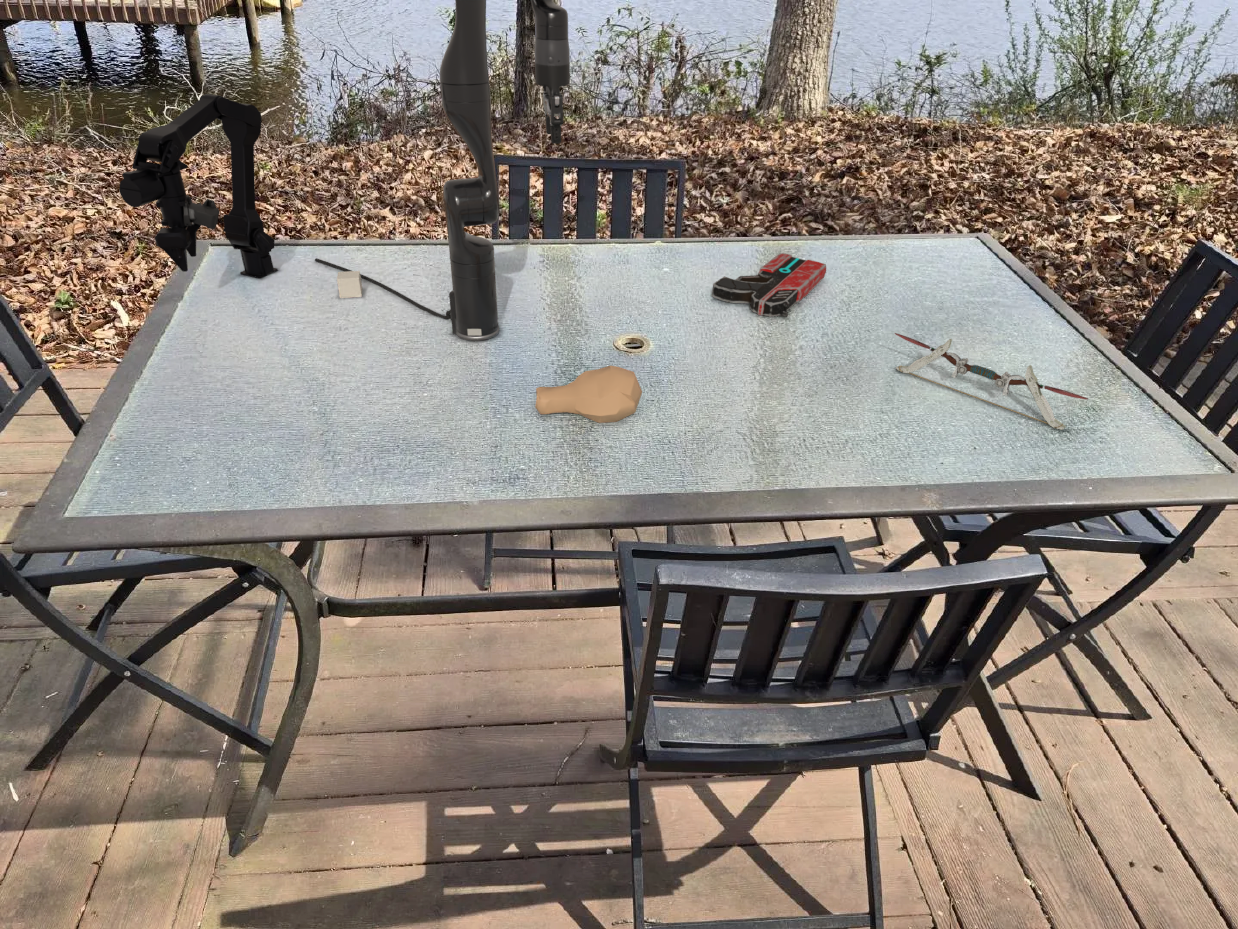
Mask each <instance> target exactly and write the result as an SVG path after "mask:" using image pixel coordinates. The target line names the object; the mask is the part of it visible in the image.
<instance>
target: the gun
mask: <svg viewBox="0 0 1238 929" xmlns="http://www.w3.org/2000/svg"><path fill="white" fill-rule="evenodd" d="M826 273H827V264H826V263H823V262H820V261H816V260H812V259H802V258H799V257H795V256H793V255H792V254H791V253H784V252H780V253H778V254H777V255H775V256H774V257H773V258H771V259H770V260H768V261H767V262H766V263H765V264H763V265H762V266H761V267H760V269H759V271H758V273H757V274H756V275H753V274H752V275H751V274H750V275H740V276H738V277H737V278H735V279H734V278H731V277H727V276H722V277H720V279H717V281H715V282H713V283H712V291H711V297H713V298H714V299H716V300H719V301H723V302H727V303H730V304H750V305H749V308H750V310H751V312H753V313H755V314H757V315H758V316H760V317H761V316H765V317H770V318H771V317H777V316H780V317H784V318H787V317H788V315H789V311H788V310H790V309H791V308H792V307H793V306H794V305H795V304H798V303H799V302H801V301H802V300H803V299H804V298H805V297H807V296H808V295H809V294H810V293H811V292H812V291H813V290H814V289H815V287H817V285H818V284H820V283H821V282H822V280H823V279H824V278H825V276H826Z"/></svg>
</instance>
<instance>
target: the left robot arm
mask: <svg viewBox="0 0 1238 929" xmlns="http://www.w3.org/2000/svg"><path fill="white" fill-rule="evenodd" d="M261 113H262V112H261V111H260V110H259V109H258V108H257V106H255V105H253V104H249V103H241V102H237V101H234V100H231V99H229V98H226V97H225V96H223V95H218V94H211V93H204V94H202V95H201V96H200V97H199V99H198V100H197V101H196V102H194V103H193V104H192V105H190V106H189V107H188V108H187V109H186V110H184V111H183V112H182V113H180V114H179V115H178V116H176V117H175V118H174V119H172V120H170V122H169V123H166V124H164V125H160V126H159V125H158V126H156V127H152V128H150V129H148V130H145V131H144V132H142V133H141V134H140V135H139V136H138V138H137V140H138V143H137V147H136V150H135V154H134V159H133V163H132V166H131V167H132V169H133V170H131V171H125V172H122V178H123V179H122V180H121V181H120V182H119V188H118V192H119V194H120V196H121V198H122V200H123V201H124V202H125V203H126V204H127V205H128V206H130V207H132V208H139V207H143V206H145V205H148V204H151V203H153V202H155V206H156V208H160V212H161V216H162V219H161V221H160V222H161V226H162V227H161V228H160V229H159V230H158V232H157V233H156V234H155V236H154V241H155V246H156V247H158V248H159V249H160V250H162V251H164V253H165V254H167V256H168V257H169V258H170V259H171V260H172V261H173V263H174V264H175V265H176V266H177V267H178V269H179V270H180V271H181V272H188V271H189V265H188V254H189V256H190V257H192V258H194V257H196V256H197V234H198V233H197V231H198V230H199V229H200V228H201V227H202V226H203V227H206V228H207V229H209V230H210V229H211V230H214V229H216V227H217V225H218V223H219V216H220V210H219V209H220V208H219V207H217V205H216V203H215V200H214V199H209V198H206V199H205V201H204V202H203V203H201V202H198V203H196V202H193V200H192V199H193V198H192V197H191V196H190V194H187V192H186V188H185V184H184V180H183V176H182V170H186V169H188V167H189V166H188V164H186V163H185V162H183V161H182V160H180V159H181V157H182V156H183V155H184V154H185V152H186V151H187V144H189V142H190V141H191V140H192V139H193V138H194V137H195V136H197V135H199V133H201V132H202V131H204V130H205V128H207V127H209V126H210V125H211V124H212V123H213V122H214V121H215V120H219V121H221V127H222V131H223V133H224V135H225V136H226V138H227V140H228V141H229V143H230V165H231V193H232V194H231V197H232V208H231V209H230V211H229V212H228V214H227V213H225V214H223V230H222V232H223V233H224V234H225V238H226V240H228V242H229V243H230V244H231V247H232V248H233V249H234V250H239V251H240V255H241V259H242V264H243V268H244V270H242V271H240V272H239V273H240V275H241V276H246V277H250V278H254V279H258V280H259V279H260V280H261V279H263V278H265V277H267V276H270V275H272V274H273V273H276V272H278V271H279V269H278V268H277V267H274V264H273V259H272V255H271V252H272V250H274V249H275V244H276V243H275V241H276V240H275V239H274V238H273V237H272V236H271V235H269V234H268V233H266V232H265V229H264V223H263V220H262V218H261V216H260V215H259V212H258V210H257V208H256V184H255V182H256V180H255V178H256V177H255V144H256V142H257V141H258V139H259V137H260V136H261V134H262V133H261V131H262V121H263V119H262V114H261ZM187 253H188V254H187Z"/></svg>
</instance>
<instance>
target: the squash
mask: <svg viewBox="0 0 1238 929" xmlns="http://www.w3.org/2000/svg"><path fill="white" fill-rule="evenodd" d="M642 393H643V390H642V387H641V386H640V383H639V380H638V378H637V376H636V373H635V372H634V371H632V370H629V369H627V368H623V367H621V366H615V365H611V364H610V365H607V366H603V367H601V368H596V369H591V370H585V371H584V372H582V373H580V374H579V375H578V376H577V377H576V378H575V379H574V380H572V381H571V382H569V383H568V384H566V385H556V386H538V387H536V388H535V396H536V400H535V405H534V408H535V410H537V412H538V414H540V415H549V414H557V413H558V414H559V413H561V414H562V413H570V414H575V415H576V414H577V415H580V416H582V417H584V418H586V419H588V420H590V421H593V422H596V423H598V424H602V423H617V422H620V421H622V420H624V419H625V418H627V417H629V416H631V415H633V414H635V413H636V412H637V409H638V406H639V403H640V399H641V397H642Z"/></svg>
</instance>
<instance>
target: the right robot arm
mask: <svg viewBox="0 0 1238 929" xmlns="http://www.w3.org/2000/svg"><path fill="white" fill-rule="evenodd" d="M454 2H455V4H454V5H455V21H454V27H453V31H452V34H451V37H450V40H449V42H448V45H447V47H446V49H445V51H444V55H443V57H442V60H441V64H440V68H439V85H440V96H441V107H442V110H443V112H444V114H445V117H446V118H447V120H448V121H449V123H450V124H451V126H452V127H453V128H454V130H455V132H456V133H457V134H458V136H459V137H460V138H461V139H462V140H463V143H464V144H465V145H466V147H467V149H468V150H469V152H470V154H471V156H472V157H473V160H474V162H475V165H476V168H477V174H478V176H477V177H469V178H458V179H448V180H446V181H445V182H444V184H443V187H442V202H443V210H444V216H445V217H444V218H445V222H446V223H445V224H446V231H447V240H448V241H447V242H448V250H449V263H450V264H449V265H450V275H451V276H450V277H451V286H452V290H451V291H450V292H448V297H449V310H447V311H445V315H443V314H440V313H438V312H437V311H434V310H432V309H430V308H428V307H426V306H424V305H422V304H420V303H418V302H416V301H415V300H413V299H411V298H410V297H408V296H406V295H404V294H402V293H401V292H398V291H397V290H395V289H393V288H391V287H389V286H387V285H385V284H384V283H381V282H379V281H377V280H375V279H373V278H370V277H369V276H366V275H364V274H362V273H360V276H361V280H362V279H363V280H364V281H367V282H369V283H371V284H374V285H376V286H378V287H380V288H382V289H384V290H385V291H387V292H390V293H392V294H393V295H395V296H397V297H398V298H400V299H402V300H404V301H406V302H408V303H409V304H411V305H412V306H414V307H416V308H418V309H420V310H422V311H424V312H426V313H428V314H430V315H432V316H434V317H438V318H440V319H443V320H450V322H451V332H452V334H453V335H456V336H457V337H458V338H460V339H462V340H464V341H470V342H479V341H481V342H482V341H486V340H487V341H488V340H491V339H493V338H494V337H495V338H496V337H497V335H499V333H500V325H499V312H498V311H499V310H498V296H497V295H498V294H497V293H498V292H497V276H496V275H497V274H496V261H495V259H496V258H495V248H494V244H493V242H492V241H491V240H490V239H488V238H485V237H483V236H482V237H481V236H477V235H473V234H471V233H469V232H467V231H466V230H465V228H466V227H477V226H486V225H492V224H495V223H497V222H498V220H499V216H500V196H499V188H498V181H497V172H496V165H495V156H494V147H493V132H492V108H491V88H490V87H491V86H490V76H489V74H490V73H489V66H488V65H489V64H488V48H487V47H488V45H487V0H454ZM530 3H531V7H532V11H533V14H534V29H535V30H534V31H535V32H534V33H535V40H534V74H535V75H534V76H535V78H534V79H535V80H534V81H535V84H536V85H537V86H539V87H542V88H543V92H542V99H543V102H542V104H543V105H542V106H543V108H542V110H543V113H544V117H545V133H546V134H547V135H550V143H551V144H553V145H555V144H556V145H557V144H561V143H562V126H563V125H564V104H563V103H564V97H563V94H562V92H561V90H560V88H562V87H566V86H568V85H569V84H570V83H571V70H570V69H571V62H570V60H571V59H570V57H571V56H570V54H571V53H570V52H571V51H570V42H569V13H568V11H567V9H566V8H564V7H563V6H560V5H558V4H556V3H555V2H554V0H530ZM556 117H557V118H556ZM314 262H316V263H318V264H322V265H325V266H327V267H330V268H334V269H335V270H339V271H340V272H348V271H353V270H351V269H349V268H346V267H344V266H341V265H338V264H335V263H331V262H329V261H326V260H323V259H320V258H314Z"/></svg>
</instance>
